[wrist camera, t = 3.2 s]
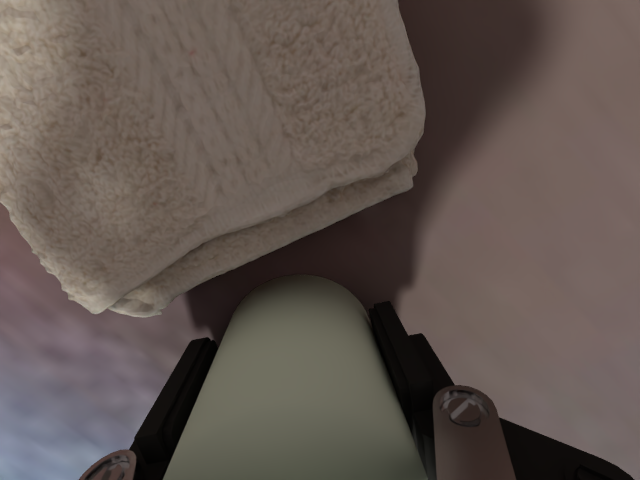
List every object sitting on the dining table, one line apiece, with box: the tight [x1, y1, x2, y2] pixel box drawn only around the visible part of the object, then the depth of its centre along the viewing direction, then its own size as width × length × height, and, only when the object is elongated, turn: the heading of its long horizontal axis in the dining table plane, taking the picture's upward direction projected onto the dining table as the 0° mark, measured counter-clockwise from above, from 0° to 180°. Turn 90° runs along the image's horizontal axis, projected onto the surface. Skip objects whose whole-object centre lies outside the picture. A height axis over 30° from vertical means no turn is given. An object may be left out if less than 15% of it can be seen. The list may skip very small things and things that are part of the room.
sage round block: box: [163, 274, 428, 480], centre depth 9 cm, size 6×6×6 cm
